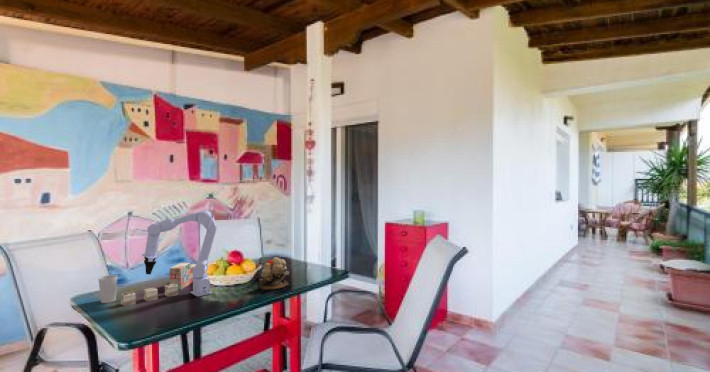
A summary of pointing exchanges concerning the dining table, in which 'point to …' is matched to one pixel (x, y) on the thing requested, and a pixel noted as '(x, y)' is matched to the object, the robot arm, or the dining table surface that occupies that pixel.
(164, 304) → the dining table surface
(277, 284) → the brown lumpy figurine
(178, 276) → the stack of blocks
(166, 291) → the dotted block
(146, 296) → the plain block
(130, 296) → the dotted block
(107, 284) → the cup
